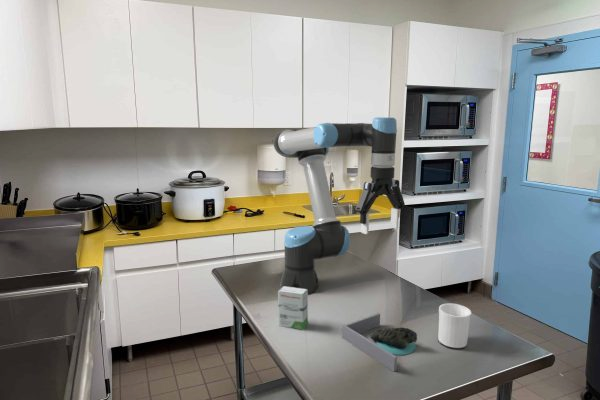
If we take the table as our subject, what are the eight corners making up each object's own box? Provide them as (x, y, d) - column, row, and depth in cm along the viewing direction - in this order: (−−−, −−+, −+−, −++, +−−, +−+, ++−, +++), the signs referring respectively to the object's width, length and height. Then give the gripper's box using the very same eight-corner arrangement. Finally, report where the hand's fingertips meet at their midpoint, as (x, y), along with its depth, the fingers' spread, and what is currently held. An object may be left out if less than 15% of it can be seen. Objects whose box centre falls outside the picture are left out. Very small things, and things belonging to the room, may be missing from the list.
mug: (465, 353, 117) (468, 319, 115) (433, 344, 122) (435, 312, 120) (472, 337, 126) (475, 305, 124) (442, 329, 131) (444, 298, 129)
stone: (373, 333, 128) (374, 317, 127) (418, 342, 123) (418, 325, 122) (368, 343, 122) (368, 327, 121) (414, 353, 116) (415, 335, 116)
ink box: (308, 323, 134) (308, 288, 132) (303, 330, 130) (303, 294, 127) (283, 319, 137) (283, 284, 135) (277, 325, 132) (277, 290, 130)
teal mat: (368, 342, 123) (368, 341, 123) (394, 331, 129) (394, 330, 129) (396, 359, 114) (396, 358, 114) (423, 347, 120) (423, 346, 120)
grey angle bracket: (342, 337, 125) (342, 325, 125) (377, 324, 134) (378, 312, 133) (393, 371, 109) (394, 357, 108) (431, 354, 117) (432, 341, 116)
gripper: (361, 169, 124) (359, 238, 128) (417, 165, 138) (414, 227, 142) (345, 167, 130) (343, 233, 134) (400, 163, 144) (397, 223, 148)
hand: (379, 230), depth 138 cm, fingers open, 13 cm apart
